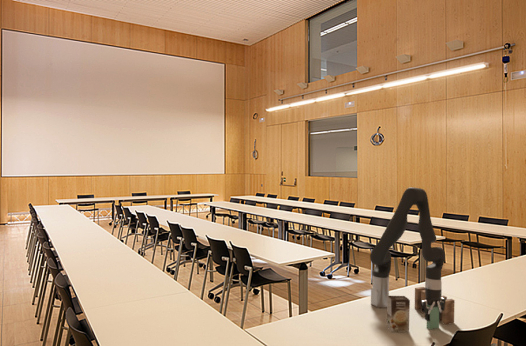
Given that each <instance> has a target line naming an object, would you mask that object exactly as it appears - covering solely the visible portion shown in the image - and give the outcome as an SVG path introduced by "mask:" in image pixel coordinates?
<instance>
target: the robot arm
mask: <svg viewBox="0 0 526 346" xmlns="http://www.w3.org/2000/svg"><path fill="white" fill-rule="evenodd" d="M413 206H416V208H417V209H418V215H419V216H418V222H417V223H418V225H417V229H418V232H419V235H420V238H421V255H422V258H423V260H425V261H426V262H427V263H431V264H429V265H427V266H426V267H425V281H424V284H425V285H424V287H425V295H426V299H425V300H424V301H422V300H421V309H420V312H421V311H422V312H424V313H423V314H424V319H425V321H426V322H427V321H430V311H431V310H432V309H433V308H434V307H437V306H438V309H439V321H441V320H440V318H441V312H442V310H443V311H444V309H445V301H446V299H444V298H442V297H441V296H443V295H442V290H443V288H442V283H443V282H442V269H443V267H444V263H445V260H446V253H445V251H444V249H443V248H442V247H440V246H432V243H433V244H434V243H435V242H436V241H437V236H436V232H435V229H434V226H433V222H432V219H431V213H430V206H429V199H428V194H427V191H426V190H425V189H423V188H420V187H419V188H418V187H414V186H413V187H408V188H406V189H405V190H404V191H403V194H402V196H401V199H400V201H399V203H398V206H397V207H396V210H395V211H394V214H393V215H392V217H391V218H390V220H389V222H388V224H387V225H386V228H385V230H384V231H383V233H382V235H381V236H380V238H379V241H378V242H377V243H376V245H375V246H374V248H373V249H372V250H371V252H370V254H369V257H370V258H369V259H370V262H371V263H372V264H373V265H375V267H374V269H373V270H372V287H370V305H373V306H374V307H375V308H387V297H388V296H390V273H391V269H392V268H391V267H392V255H391V252H390V249H391V247H393V246H394V245H395V244H396V243H397V242H398V241H399V240H400V239H401V238H402V236H403V234H404V233H405V231H406V229H407V227H408V215H409V212H410V210H411V208H412V207H413ZM427 304H428V305H430V308H429V307H427ZM427 308H428V311H427ZM422 312H421V313H422Z"/></svg>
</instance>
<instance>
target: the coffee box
mask: <svg viewBox="0 0 526 346" xmlns="http://www.w3.org/2000/svg"><path fill="white" fill-rule="evenodd" d="M410 301H411V300H410V299H409V298H408V297H406V295H389V296H388V297H387V307H386V328H387V329H388V330H389V332H391V333H409V332H410V312H411V311H410V308H411V307H410V305H411V302H410Z"/></svg>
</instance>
